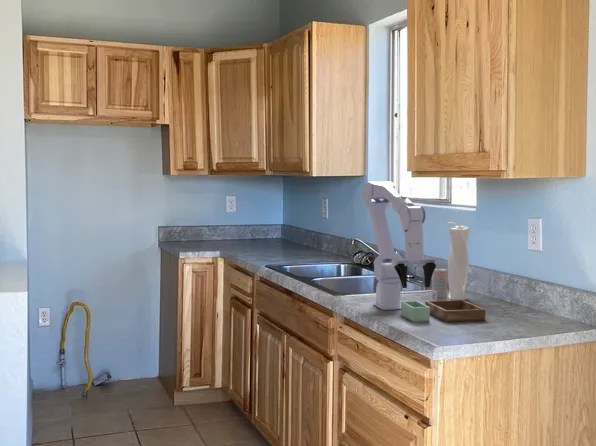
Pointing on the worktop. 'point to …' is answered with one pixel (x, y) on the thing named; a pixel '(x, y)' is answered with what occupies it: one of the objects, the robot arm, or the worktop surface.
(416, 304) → the small crate
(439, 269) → the energy drink
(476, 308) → the big crate
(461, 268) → the twisted white candle
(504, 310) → the worktop surface
